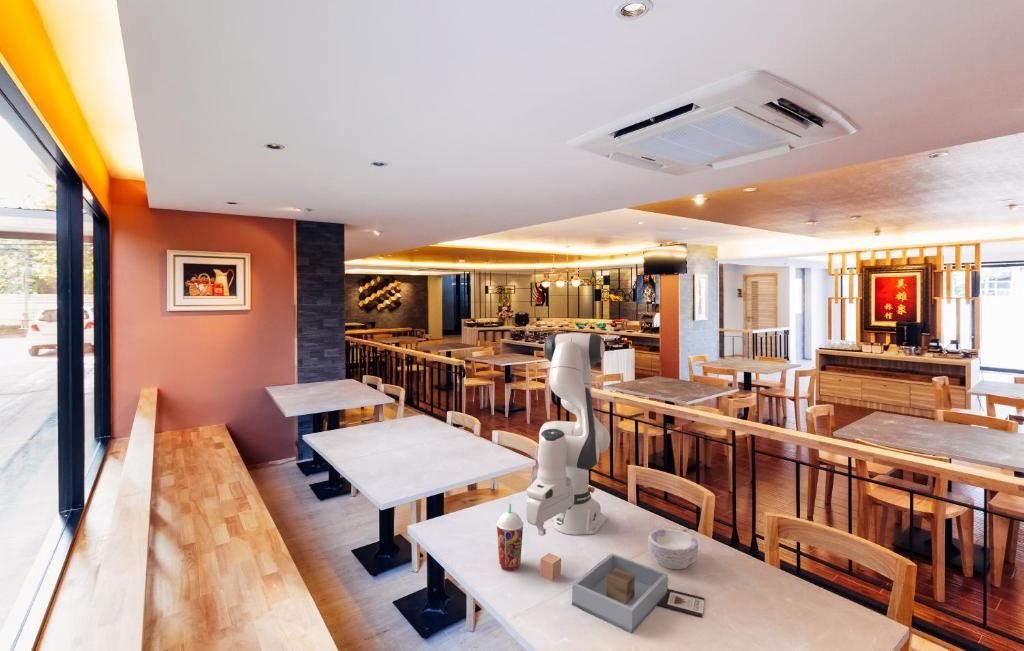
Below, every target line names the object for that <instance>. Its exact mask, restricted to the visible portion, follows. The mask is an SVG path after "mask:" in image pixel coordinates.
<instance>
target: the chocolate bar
mask: <svg viewBox="0 0 1024 651" xmlns="http://www.w3.org/2000/svg"><path fill="white" fill-rule="evenodd" d="M704 605H705V597H703V596H699V595H695V594H690V593H687V592H682V591H679V590H675V589H670V588H667V594H666V595H665V596H664V597H663V598H662V599H661V600H660V602H659V603H658V604H657V607H658V608H662V609H666V610H670V611H673V612H678V613H681V614H685V615H688V616H693V617H695V618H700V619H702V618H703V614H704V613H703V612H704Z"/></svg>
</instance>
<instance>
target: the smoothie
mask: <svg viewBox="0 0 1024 651" xmlns="http://www.w3.org/2000/svg"><path fill="white" fill-rule="evenodd" d="M523 530H524V522H523V521H522V518H521V517H520V515H519V514H518V513H516V512H514V511H512V503H508V511H506V512H503V513H502V514H501V515H500V517H499V519H498V520H497V521H496V534H497V552H498V563H499V565H500V567H501V569H503V570H504V571H505V570H506V571H514V570H517V569H518V568H519V566H520V564H521V560H522V558H521V557H522V544H523V534H524V533H523V532H524V531H523Z"/></svg>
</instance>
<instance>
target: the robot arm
mask: <svg viewBox="0 0 1024 651" xmlns="http://www.w3.org/2000/svg"><path fill="white" fill-rule="evenodd" d="M605 346H606V345H605V343H604V339H603V337H602V336H601V335H599V334H595V333H591V334H590V333H585V332H584V333H583V332H569V333H567V332H566V333H552V334H548V336H547V337H546V338H545V339H544V343H543V354H544V357H545V358H546V359H547V361H548V362H551V363H550V368H549V375H548V377H549V379H548V380H549V382H548V383H549V385H548V386H549V387H550V389H551V391H552V392H553V393H554V395H556V396H557V397H558V398H560V404H561V406H562V407H563V408H564V409H565V410H567V411H568V412H570V413H572V414H573V415H574V416H575V417H576V421H568V420H567V421H566V420H565V421H563V420H552V421H546V422H544V423H543V424H542V426H540V429H539V432H538V438H539V439H538V444H537V463H538V471H537V476H536V478H535V480H534V481H533V482H532V483H531V485H529V486H528V487H527V489H526V496H528V497H527V500H526V509H525V510H526V511H525V512H526V514H525V517H526V521H527V523H528V524H530V525H533V526H535V527H536V529H537V534H538V535H539V536H541V537H543V536H545V535H547V532H546V531H547V529H546V528H544V525H545V522H547V521H548V520H551V521H552V523H553V524H552V527H553V528H554V529H555V530H556V531H557V532H559V533H563V534H566V535H567V534H568V535H572V536H573V535H575V536H578V535H595V534H596V533H597V532H598V531H599V530H600V529H601V527H602V526H603V525H604V523H605V522H606V521H607V519H608V516H606V514H604V513H603V512H601V511H602V509H601V505H600V503H599V502H598V501H597V500H595V499H594V498H593V497H592V494H594V492H595V491H596V490H595V489H596V488H595V487H594V486H590V485H589V475H590V474H589V473H590V472H589V470H591V469H592V468H595V467H596V466H597V465H598V463H599V459H600V454H601V453H604V452H606V450H608V448H609V447H610V446H609V445H610V443H611V435H610V433H609V430H608V429H607V428H606V426H605V425H603V424H602V423H601V421H600V420H598V418H597V417H596V415H595V411H594V404H593V398H592V381H593V380H592V368H593V367H595V365H596V364H598V363H599V362H601V361H602V360H603V357H604V355H605V352H606V347H605ZM591 493H592V494H591Z"/></svg>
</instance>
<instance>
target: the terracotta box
mask: <svg viewBox="0 0 1024 651" xmlns="http://www.w3.org/2000/svg"><path fill="white" fill-rule="evenodd" d="M539 564H540V565H539V568H540V569H539V572H540V574H539V575H540V577H541V578H544V579H546V580H548V581H550V582H554V581H556V580H557V579H558V578H560V577H561V576H562V557H560V556H558V555H555V554H553V553H551V552H548V553H547V554H546V555H544V556H542V557H541V558H540V563H539Z"/></svg>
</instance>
